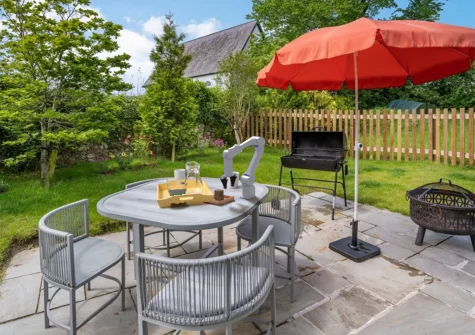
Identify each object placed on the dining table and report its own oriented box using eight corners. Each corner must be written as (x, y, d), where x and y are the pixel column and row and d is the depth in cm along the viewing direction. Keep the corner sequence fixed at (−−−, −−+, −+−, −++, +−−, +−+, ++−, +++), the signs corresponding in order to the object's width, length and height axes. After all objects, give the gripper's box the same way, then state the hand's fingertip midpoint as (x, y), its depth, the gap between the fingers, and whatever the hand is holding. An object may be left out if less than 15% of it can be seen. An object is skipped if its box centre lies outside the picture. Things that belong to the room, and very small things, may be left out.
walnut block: (218, 198, 209) (218, 188, 208) (223, 199, 206) (223, 189, 204) (214, 199, 206) (214, 190, 205) (219, 201, 203) (219, 191, 201)
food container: (168, 205, 198) (167, 190, 197) (169, 202, 204) (168, 188, 203) (187, 204, 201) (186, 189, 199) (187, 201, 207) (186, 187, 205)
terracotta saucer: (218, 196, 216) (218, 193, 216) (234, 200, 207) (234, 196, 207) (203, 201, 205) (203, 198, 204) (219, 205, 196) (219, 201, 195)
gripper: (225, 170, 193) (226, 190, 196) (239, 166, 204) (240, 186, 207) (217, 169, 198) (218, 189, 200) (231, 165, 209) (232, 184, 211)
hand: (228, 187), depth 204 cm, fingers open, 7 cm apart
